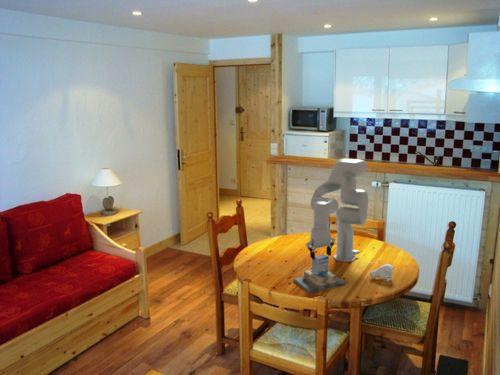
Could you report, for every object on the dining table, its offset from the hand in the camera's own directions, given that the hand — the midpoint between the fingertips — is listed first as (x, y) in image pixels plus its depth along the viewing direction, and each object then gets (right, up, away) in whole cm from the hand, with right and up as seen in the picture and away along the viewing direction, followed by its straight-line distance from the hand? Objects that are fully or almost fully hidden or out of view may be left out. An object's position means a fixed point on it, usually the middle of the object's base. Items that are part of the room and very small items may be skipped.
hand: (320, 256), depth 238 cm
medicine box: (0, -9, +2) cm, 9 cm away
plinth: (0, -14, +3) cm, 14 cm away
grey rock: (+33, -13, +6) cm, 36 cm away
